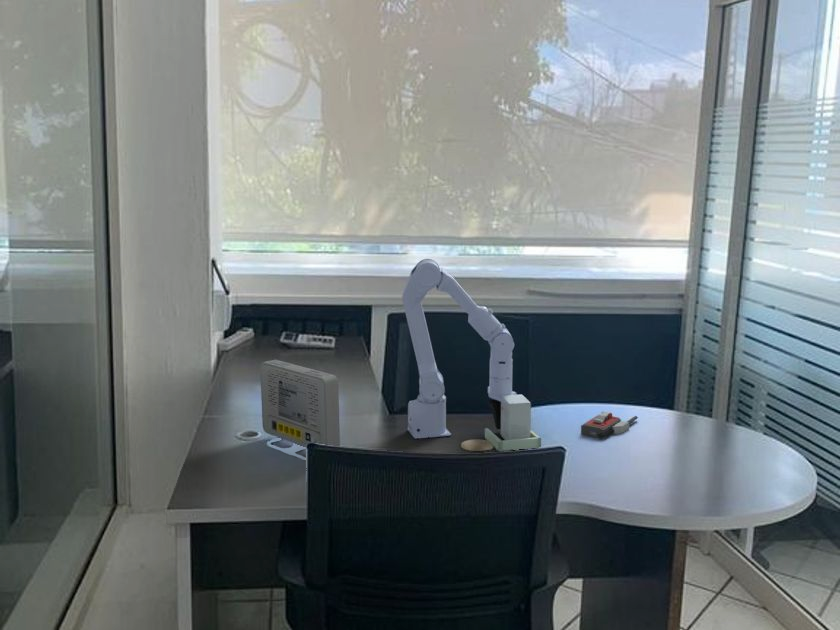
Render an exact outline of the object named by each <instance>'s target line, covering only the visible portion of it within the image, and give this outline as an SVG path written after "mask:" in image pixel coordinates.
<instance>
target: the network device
mask: <svg viewBox="0 0 840 630" xmlns="http://www.w3.org/2000/svg"><path fill="white" fill-rule="evenodd" d="M259 370H260V373H259V374H260V377H259V378H260V394H261V395H260V397H261V419H262V422H261V423H262V429H263V431H264V433H266V434H268V435H271V436H274V437H275V438H281V439H284V440H283V441H287V442H290V443H292V444H293V443H295V444H297V445H300V446H303V447H306V445H307V444H308V443H319V444H325V445H333V446H340V447H341V437H340V436H341V434H340V433H341V431H340V429H341V428H340V401H339V399H340V394H339V393H340V392H339V380H338V377H337V376H336V374H332V373H331V374H330V373H327V372H324V371H320V370H316V369H312V368H309V367H304V366H301V365H297V364H294V363H290V362H286V361H283V360H278V359H273V360H267V361H262V362H261V363H260V365H259Z"/></svg>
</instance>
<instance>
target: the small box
mask: <svg viewBox="0 0 840 630" xmlns="http://www.w3.org/2000/svg"><path fill="white" fill-rule="evenodd" d="M501 398H502V399H504V400H505V403H503V402H501V429H500V436H501V437H502V438H503V439H504V440H513V439H524V438H530V429H531V424H532V423H531V422H532V420H531V416H532V415H531V414H532V413H531V412H532V402H530V401H529V399H527V397H525V396H524V395H523V394H516V395H502V396H501Z"/></svg>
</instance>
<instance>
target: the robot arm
mask: <svg viewBox="0 0 840 630" xmlns="http://www.w3.org/2000/svg"><path fill="white" fill-rule="evenodd" d="M435 287H436V290H437V291H440V292H442V293H443V292H444V293H446V294H448V295H449V296H450V297H451V299H453V300H454V302H456V303H457V304H458V305H459V306H460V307H461V309H462V310H463V311H465V313H466V314H468V316H467V318H468V319H467V322H468V324H469V325H470V326H471V327H472V328H473V329H474V330H475V332H476V333H478V335H479V336H480V337H482V339H483V340H484V341H488V345H489V346H490V357H489V386H487V394H488V397H489V398H490V399H489V400H487V403H488V405H489V408H490V410H491V413H492V417H493V422H494V426H495V429H496V430H501V402H503V403H505V400H504V399H502V398H501V396H502V395H517V392H516V391H513V350H514V348H515V343H514V339H513V337H512V334H511V333H510V332H509V329H508V328H506V325H505V324H504V323H501V322H500V321H499V320H498V318H497V317H496V316H495V315H493V314H494V311H493V310H492V309H491V308H487V307H486V306H484V305H477V304H476V302H475V301H474V300H473V299H472V298H471V296H470V295H469V294H468V293H467V292H466V291H465V290H464V288H463V287H462V286H461V285H460V284H459V282H458V281H457V280H456V278H454V277H453V276H452V275H451V274H450V273H449V272H448V271H447V270H446V269H444V268H443V267H440V265H439V264H438V262H437V261H435V260H434V259H432V258H423V259H421V260H420V261H419V262H417V263H416V264H415V266H414V267H413V268H412V270H411V271H410V274H409V277H408V278H407V283H406V284H405V287H404V290H403V293H402V294H401V295H402V296H401V297H402V299H401V301H402V303H403V309H404V312H405V317H406V321H407V326H408V329H409V330H408V331H409V334H410V338H411V342H412V346H413V350H414V355H415V359H416V362H417V369H418V376H419V379H418V384H419V388H418V389H419V391H418V392H419V394H418V395H417V398H416V399H414V400H409V402H408V404H407V431H408V432H409V433H410V435H411V436H412V437H413V438H414V439H417V438H418V439H427V438H428V437H429V438H438V437H450V436H452V433H451V432H450V431H449V430H448V429H447V404H446V403H447V396H446V395H445V392H446V391H445V388H446V387H445V385H444V377H443V375H442V373H441V372H440V371H439V369H438V367H437V366H438V365H437V363H436V360H435V355H434V351H433V346H432V341H431V337H430V332H429V330H428V325H427V320H426V316H425V311H424V308H423V304H422V301H423V300H424V298H426V296H427V294H428V293H429V292H430V291H432V290H433V289H435ZM491 399H492V400H491Z"/></svg>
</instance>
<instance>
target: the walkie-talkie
mask: <svg viewBox="0 0 840 630" xmlns="http://www.w3.org/2000/svg"><path fill="white" fill-rule="evenodd" d="M638 418H639V417H638V416H637V415H635V416H633V417H632V418H630V419H627V421H623V420H622V419H621V418H620V417H618V416H613V413H612V412H608V411H602V412H600V413H599V414H597V415H596V416H594V417H593V418H591V419H590V420H589V419H588V421H586V422H585V423H583V424H581V425H580V435H582V436H586V437H591V438H596V439H601V440H603V439H606V438H608V437H609V436H611V435H612V434H613V435H616V434H622V433H624V432H626V431H628V430H629V427H630V425H631V424H633V422H635V421H636V420H637V419H638Z"/></svg>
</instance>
